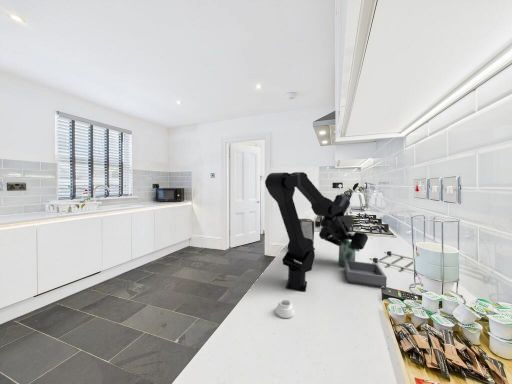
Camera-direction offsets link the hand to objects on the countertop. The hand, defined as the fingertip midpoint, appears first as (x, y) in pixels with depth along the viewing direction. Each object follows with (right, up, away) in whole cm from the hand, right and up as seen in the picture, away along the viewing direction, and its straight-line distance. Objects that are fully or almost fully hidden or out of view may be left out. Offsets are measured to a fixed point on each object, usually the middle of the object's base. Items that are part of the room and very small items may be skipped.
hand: (349, 247), depth 89 cm
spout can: (-1, -7, 0) cm, 7 cm away
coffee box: (-15, -6, +15) cm, 22 cm away
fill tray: (0, -8, -13) cm, 15 cm away
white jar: (-32, -9, -34) cm, 47 cm away
